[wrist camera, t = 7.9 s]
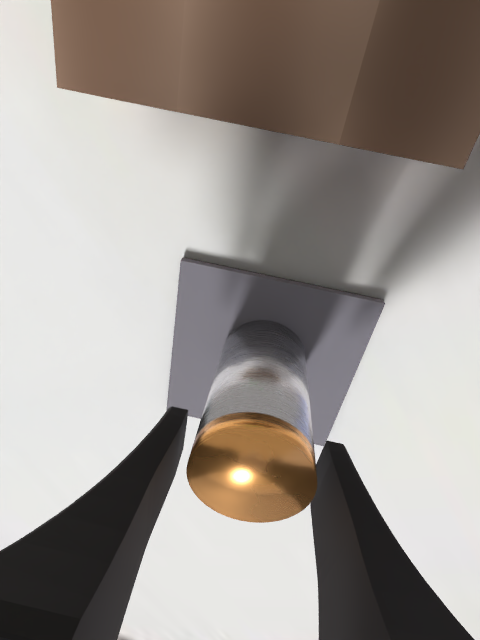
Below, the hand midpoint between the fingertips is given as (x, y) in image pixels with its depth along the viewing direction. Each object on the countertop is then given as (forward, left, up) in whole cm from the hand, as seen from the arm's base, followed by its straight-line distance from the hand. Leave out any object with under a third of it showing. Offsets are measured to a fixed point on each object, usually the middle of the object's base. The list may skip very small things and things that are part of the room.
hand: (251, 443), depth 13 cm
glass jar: (0, 0, -5) cm, 5 cm away
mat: (0, 0, -5) cm, 5 cm away
